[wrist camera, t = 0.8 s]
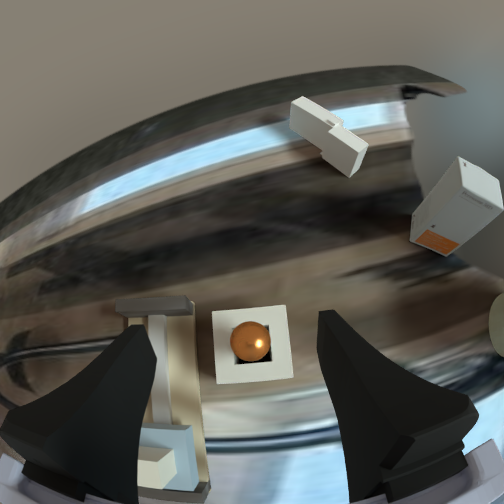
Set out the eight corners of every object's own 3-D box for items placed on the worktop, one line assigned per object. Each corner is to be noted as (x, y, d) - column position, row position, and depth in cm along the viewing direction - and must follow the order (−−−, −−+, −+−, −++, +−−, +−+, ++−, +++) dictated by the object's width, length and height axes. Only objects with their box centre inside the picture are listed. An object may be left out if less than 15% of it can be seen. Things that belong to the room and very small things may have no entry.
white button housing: (287, 375, 25) (293, 377, 21) (224, 381, 25) (216, 383, 21) (281, 316, 28) (285, 304, 23) (220, 321, 28) (212, 311, 23)
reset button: (270, 361, 24) (272, 359, 18) (238, 363, 23) (231, 362, 18) (267, 330, 25) (268, 319, 19) (235, 332, 25) (228, 322, 19)
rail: (211, 489, 20) (203, 505, 17) (146, 483, 20) (131, 496, 17) (194, 303, 28) (184, 293, 25) (132, 306, 28) (115, 297, 25)
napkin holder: (273, 119, 39) (274, 89, 34) (344, 118, 39) (351, 90, 34) (290, 200, 33) (295, 169, 28) (376, 195, 34) (391, 167, 28)
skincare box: (408, 242, 30) (460, 185, 19) (411, 214, 32) (456, 153, 21) (447, 258, 29) (505, 210, 18) (448, 230, 31) (499, 178, 20)
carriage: (199, 481, 19) (181, 509, 13) (139, 475, 19) (109, 497, 13) (192, 425, 21) (170, 441, 15) (131, 421, 21) (96, 431, 15)
